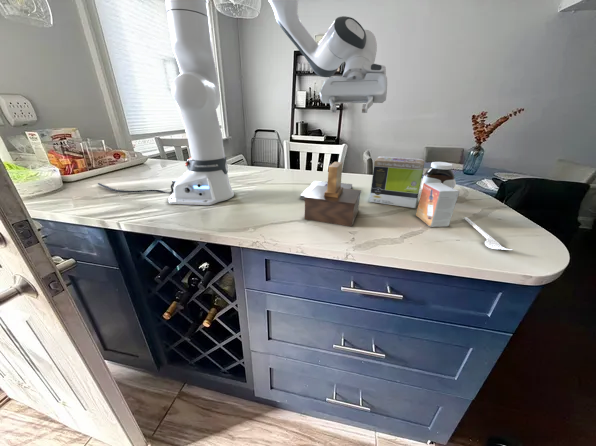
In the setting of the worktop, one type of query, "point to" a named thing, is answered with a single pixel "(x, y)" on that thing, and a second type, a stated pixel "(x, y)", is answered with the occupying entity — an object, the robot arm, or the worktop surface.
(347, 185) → the play button award
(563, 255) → the worktop surface
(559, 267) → the worktop surface
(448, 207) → the small box
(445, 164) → the spread jar
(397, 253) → the worktop surface
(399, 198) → the tea box
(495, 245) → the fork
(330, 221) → the wooden box
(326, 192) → the wooden i-shaped block
